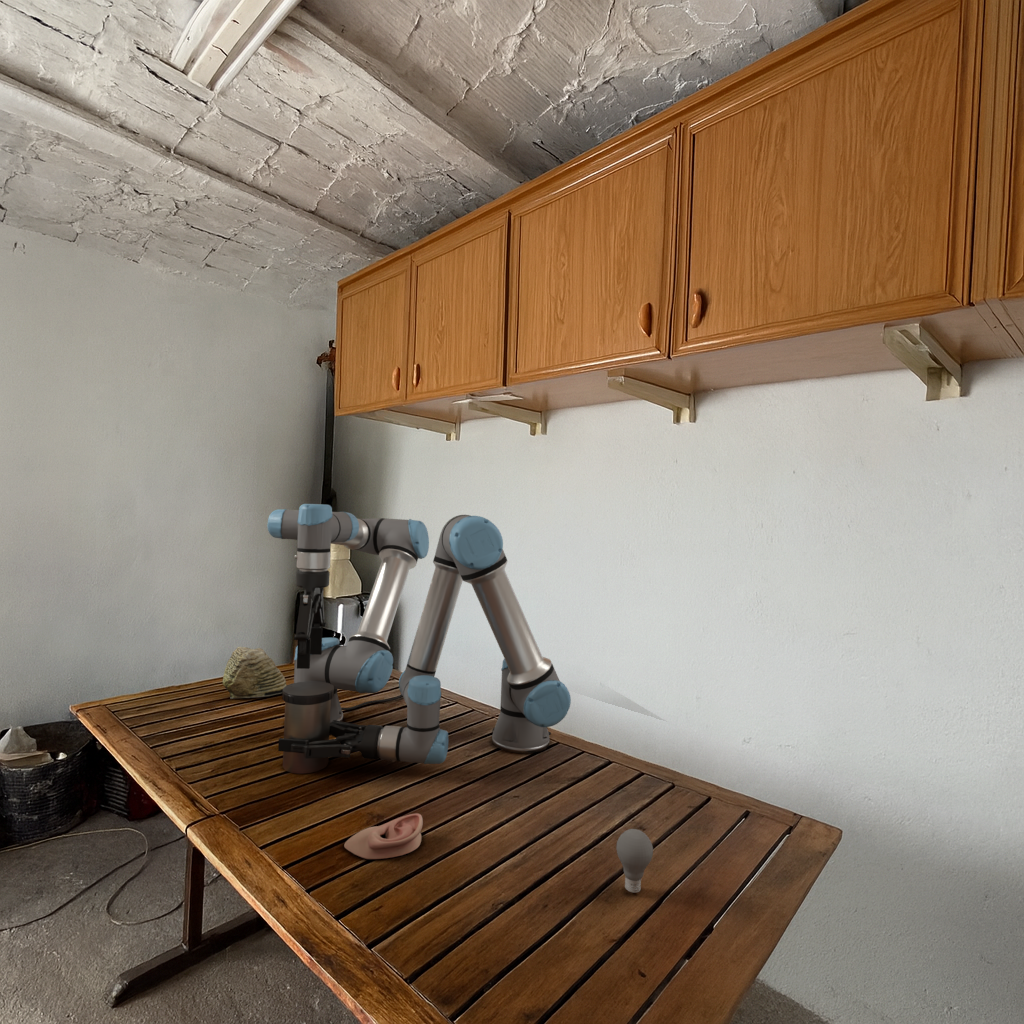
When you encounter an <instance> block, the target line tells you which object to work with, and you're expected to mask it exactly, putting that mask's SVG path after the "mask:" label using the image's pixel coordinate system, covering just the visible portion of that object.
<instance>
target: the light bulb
mask: <svg viewBox="0 0 1024 1024" xmlns="http://www.w3.org/2000/svg"><path fill="white" fill-rule="evenodd" d="M615 849H616V854H617V857H618V859H619V861H620V863H621V865H622V867H623V873H624V874H623V875H624V876H625V878H624V888H625V890H627V891H628V892H630V893H634V894H635V893H639V892H640V891H641V889H642V887H641V886H642V879H643V877H644V875H645V871H646V868H647V867H648V866H649V864H650V863H651V861H652V859H653V855H654V847H653V843H652V841H651V838H649V836H648V835H647V834H646V833H645V832H643V831H642V830H641V829H636V828H629V829H627V830H625V831H623V832H622V833H621V834H620V835H619V837H618V839H617V841H616V847H615Z"/></svg>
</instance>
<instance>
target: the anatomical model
mask: <svg viewBox="0 0 1024 1024" xmlns="http://www.w3.org/2000/svg"><path fill="white" fill-rule="evenodd" d="M423 820H424V819H423V815H421V814H420V813H409V814H405V815H403V816H400V817H397V818H395V819H392V820H390V821H388V822H386V823H383V824H381V825H378V826H377V825H376V826H370V827H367V828H364V829H362V830H360V831H358V832H356V833H355V834H353V835H352V836H351V837H350V838H348V839H347V840H346V841H345V842H344V845H343V847H344V849H346V850H347V851H348V852H350V853H351V854H353V855H355V856H358V857H360V858H362V859H366V860H381V859H389V858H390V859H391V858H396V857H400V856H404V855H406V854H409V853H412V852H414V851H415V850H417V849H418V848H419V847H420V845H421V842H422V829H423V826H424V825H423V823H424V821H423Z"/></svg>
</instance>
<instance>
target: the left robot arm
mask: <svg viewBox="0 0 1024 1024" xmlns="http://www.w3.org/2000/svg"><path fill="white" fill-rule="evenodd" d="M266 525H267V527H266V528H267V531H268V533H269V535H270V536H271V537H273V538H274V539H281V540H294V541H297V547H296V548H297V549H296V554H295V555H294V557H293V558H294V559H295V560H296V568H297V569H298V570H296V572H295V586H296V587H298V588H303V589H304V592H303V594H300V595H299V606H298V607H299V608H298V614H297V622H296V628H295V630H296V631H295V635H294V636H293V640H294V641H297V645H296V647H295V652H294V653H295V654H294V659H293V660H294V672H293V683H297V682H305V681H320V682H326V683H330V684H332V685H333V686H334V697H333V698H332V699H331V706H330V723H332V721H333V720H337V721H342V722H344V713H343V711H351V710H355V709H357V708H361V707H362V706H365V705H371V704H376V703H385V702H393V701H397V700H398V699H400V698H403V695H402V694H401V693H400V695H398V696H395V697H391V698H385V699H375V700H369V701H364V702H362V703H359V704H356V705H354V706H350V707H343V706H341V702H340V699H339V695H338V690H341V691H350V692H356V693H359V694H376V693H379V692H380V691H381V690H383V689H384V687H385V686H386V685H387V684H388V682H389V680H390V678H391V675H392V673H393V668H394V666H393V664H394V657H393V653H392V652H390V651H391V647H390V645H389V643H388V640H389V636H390V632H391V629H392V626H393V623H394V619H395V617H396V614H397V609H398V607H399V604H400V601H401V597H402V596H403V595H402V594H403V592H404V588H405V585H406V582H407V579H408V575H409V573H410V570H411V569H414V568H415V567H416V566H417V564H418V561H419V560H422V559H425V558H426V557H427V555H428V553H429V548H430V537H429V532H428V528H427V526H426V525H425V523H424V522H423V521H422V520H418V519H417V520H415V519H411V518H409V519H401V518H384V517H371V518H358V517H357V516H356V515H354V514H353V513H351V512H346V511H333V507H332V506H331V505H330V504H323V503H322V504H320V503H303V504H301V505H300V506H299V508H298V509H287V508H284V509H282V508H281V509H275V510H273V511H272V512H271V513H270V514H269V515H268V519H267V524H266ZM331 545H339V546H344V547H345V548H346V549H348V550H352V551H358V552H361V553H366V554H370V555H373V556H374V555H375V556H378V557H379V559H380V561H381V562H380V565H379V568H378V571H377V574H376V576H375V580H374V583H373V586H372V588H371V591H370V594H369V598H368V600H367V603H366V606H365V609H364V612H363V615H362V617H361V620H360V623H359V626H358V629H357V632H356V633H354V634H352V635H350V637H349V638H348V641H347V644H346V645H340V644H341V641H340V639H339V638H337V637H323V628H326V626H327V622H325V621H326V619H325V606H324V603H325V602H324V590H325V589H324V588H327V587H329V586H330V575H331V573H330V571H329V570H330V568H331V557H332V555H331ZM328 569H329V570H328Z"/></svg>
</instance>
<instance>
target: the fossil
mask: <svg viewBox="0 0 1024 1024" xmlns="http://www.w3.org/2000/svg"><path fill="white" fill-rule="evenodd" d="M222 676H223V677H222V685H223V687H224V688H225V690H226V691H228V693H229V698H230V699H250V698H264V697H271V696H275V695H281V694H282V691H283V688H284V687H285V686H287V685H288V684H287V680H286V678H285V676H284V674H283V673H282V672H281V669H279V668H278V667H277V665H276V663H275V662H274V660H273V659H272V658H271V657H270V656H269V655H268V654H267V653H266V652H265V650H264V649H263V648H260V647H258V648H251V647H247V646H246V647H245V646H238V647H237V648H236V649H235V650H233V651H232V653H231V656H230V657H229V659H228V660H227V663H226V666H225V668H224V671H223V675H222Z"/></svg>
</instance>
